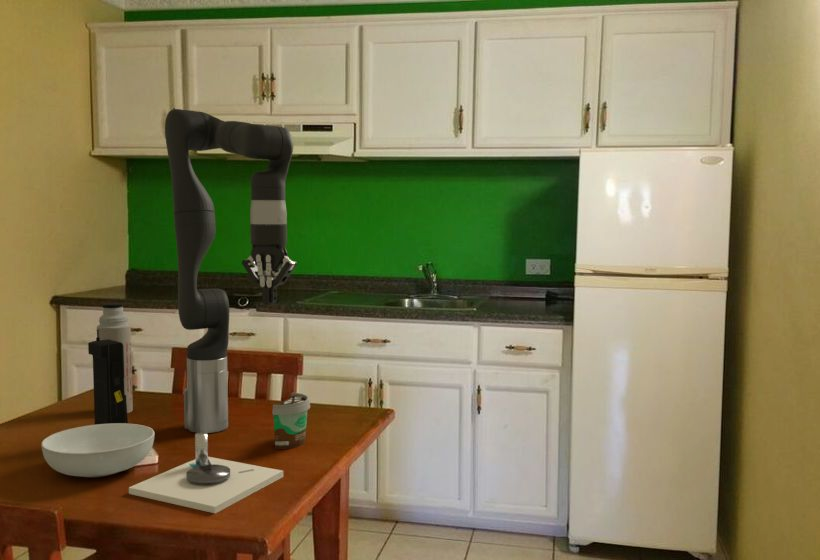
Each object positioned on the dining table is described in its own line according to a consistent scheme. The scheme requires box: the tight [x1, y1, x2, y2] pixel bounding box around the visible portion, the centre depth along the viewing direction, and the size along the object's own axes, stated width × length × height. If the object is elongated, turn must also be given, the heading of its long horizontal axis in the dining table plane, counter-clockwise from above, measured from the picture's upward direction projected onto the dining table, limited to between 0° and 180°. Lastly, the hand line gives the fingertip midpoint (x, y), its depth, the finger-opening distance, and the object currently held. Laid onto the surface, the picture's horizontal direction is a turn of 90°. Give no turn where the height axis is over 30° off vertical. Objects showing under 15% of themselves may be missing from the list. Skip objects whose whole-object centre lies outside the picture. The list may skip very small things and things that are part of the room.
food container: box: [271, 392, 311, 450], centre depth 167 cm, size 12×6×10 cm, turn 168°
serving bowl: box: [40, 423, 155, 478], centre depth 150 cm, size 21×21×7 cm
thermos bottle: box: [96, 302, 134, 414], centre depth 192 cm, size 8×8×28 cm
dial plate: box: [128, 456, 284, 514], centre depth 142 cm, size 20×20×1 cm
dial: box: [186, 432, 230, 484], centre depth 144 cm, size 13×8×6 cm, turn 24°
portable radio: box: [87, 329, 129, 425], centre depth 166 cm, size 8×6×25 cm
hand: (269, 304), depth 158 cm, fingers closed
